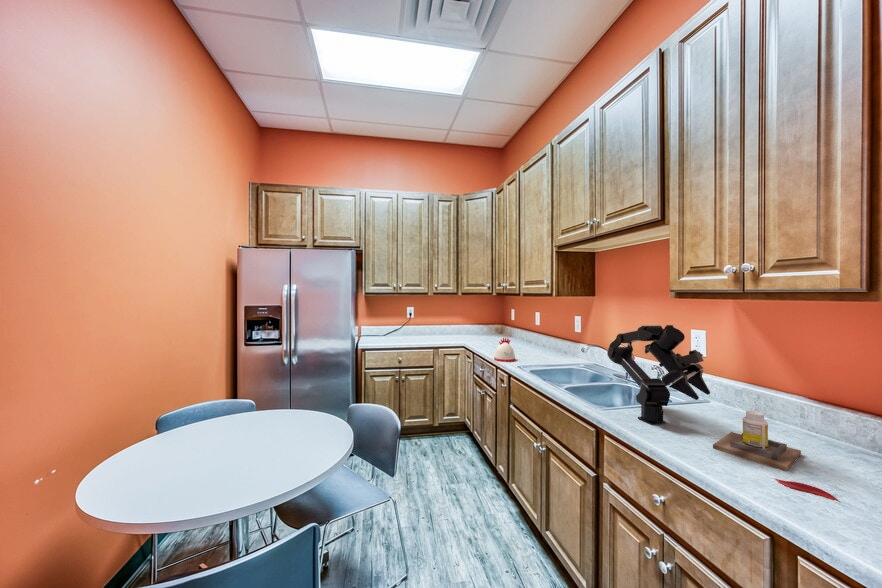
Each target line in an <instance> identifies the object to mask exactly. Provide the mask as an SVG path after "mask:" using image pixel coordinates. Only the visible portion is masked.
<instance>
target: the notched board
mask: <svg viewBox="0 0 882 588" xmlns="http://www.w3.org/2000/svg"><path fill="white" fill-rule="evenodd" d="M712 449H714V450H717V451H720V452H723V453H726V454H730V455H733V456H735V457H736V456H737V457H739V458H742V459H746V460H749V461H751V462H755V463H759V464H762V465H765V466H768V467H771V468H775V469H778V470H781V471H784V472H787V471H788V470H789V469H790V468H791V467H792V466H793V465H794V463H795V462H796V461H797V460H798V459H799V457H800V456H801V455H802V450H800V449H796V448H793V447H789V446H788V445H787V444H786V443H783V442H779V441H775V440H772V439H768V449H767V450H762V449H759V448H755V447H752V446H748V445H745V444H743V432H741V433H738V432H734V431H731V432H729V433H727V434H726V435H725V436H723V437H722V438H720V439H719V440H717V441H715V442H714V443H713V444H712ZM800 454H801V455H800ZM797 458H798V459H797ZM796 459H797V460H796ZM795 460H796V461H795ZM791 465H792V466H791Z"/></svg>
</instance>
